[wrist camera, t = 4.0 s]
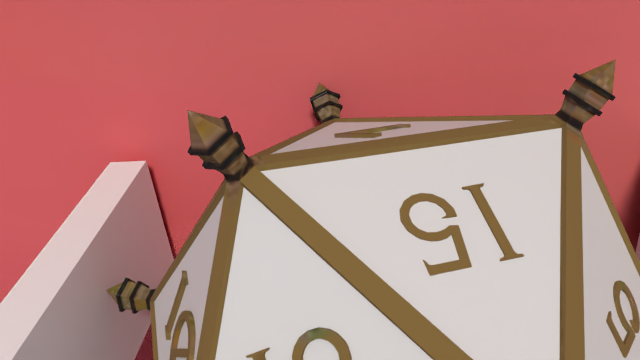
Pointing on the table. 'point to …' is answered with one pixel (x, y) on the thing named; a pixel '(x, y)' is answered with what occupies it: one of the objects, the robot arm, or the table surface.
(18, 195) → the table surface
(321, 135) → the game die
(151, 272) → the robot arm
